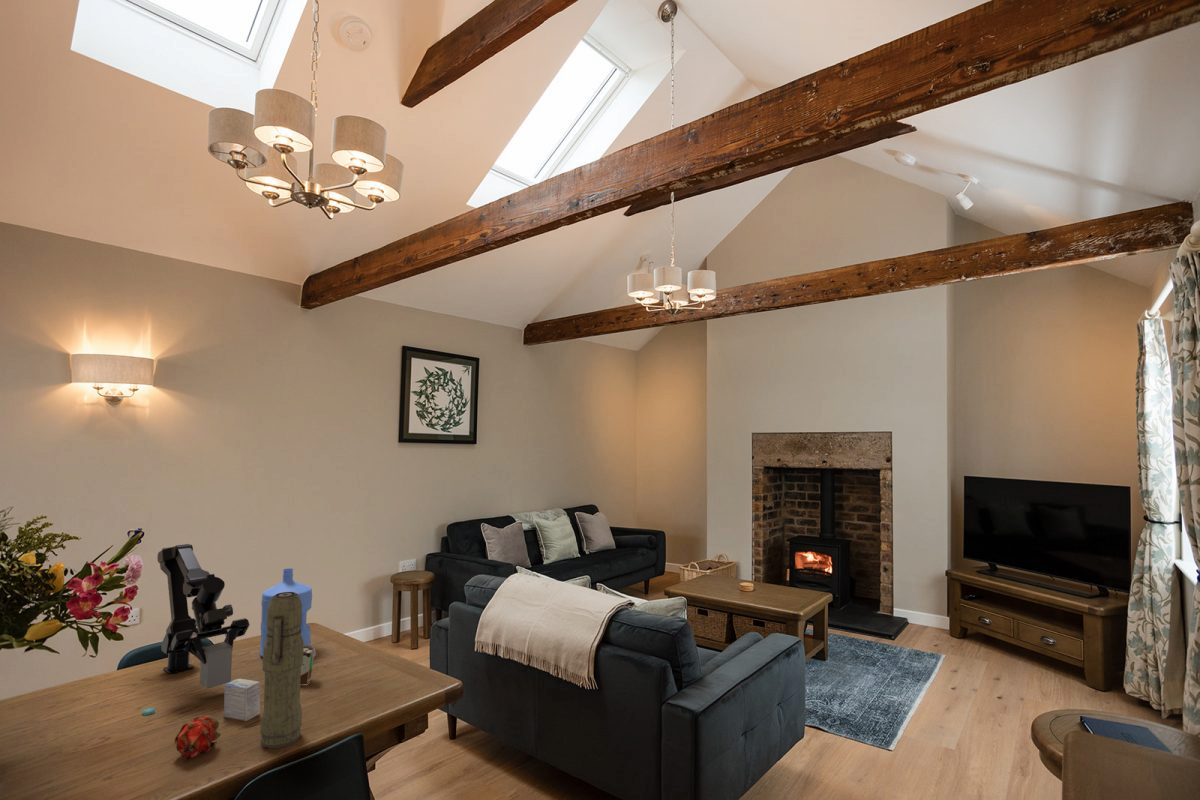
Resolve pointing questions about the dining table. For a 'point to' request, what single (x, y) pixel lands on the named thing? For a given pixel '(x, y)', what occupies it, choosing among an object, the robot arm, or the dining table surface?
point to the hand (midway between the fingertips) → (217, 660)
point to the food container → (307, 663)
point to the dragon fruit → (197, 736)
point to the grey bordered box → (216, 665)
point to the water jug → (287, 586)
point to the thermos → (282, 672)
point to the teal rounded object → (148, 711)
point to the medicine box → (242, 699)
